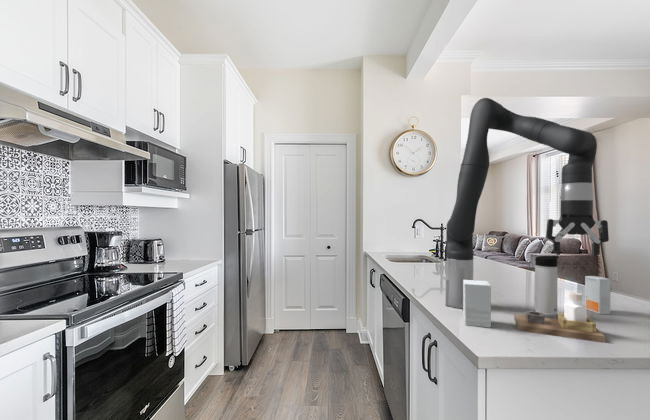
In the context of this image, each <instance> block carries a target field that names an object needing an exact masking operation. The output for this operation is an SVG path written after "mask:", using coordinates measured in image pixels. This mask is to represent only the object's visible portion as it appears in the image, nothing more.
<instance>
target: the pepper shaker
mask: <svg viewBox="0 0 650 420" xmlns="http://www.w3.org/2000/svg"><path fill="white" fill-rule="evenodd" d="M563 307H564V308H563V309H564V310H563V312H564V313H563V314H564V318H565V319H566V320H573V321H581V322H587V317H588V315H587V313H588V312H587V311H588V310H587V308H586V307H585V304H583V294H582V293H580V292H576V291H575V292H573V291H569V292H568V302H567V303H564V306H563Z"/></svg>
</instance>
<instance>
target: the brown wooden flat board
mask: <svg viewBox="0 0 650 420" xmlns="http://www.w3.org/2000/svg"><path fill="white" fill-rule="evenodd" d="M525 312H526V313H525V314H526V315H525V314H517V313H514V315H513V316H514V322H515V327H516V330H517V331H519V332H520V331H521V332H525V333H526V332H527V333H535V334H541V335H547V336H548V335H549V336H556V337H562V338H570V339H576V340H577V339H578V340H585V341H593V342H598V343H605V342H606V336H605V335H604V334H603V333H602V332H601V331H600V330H599V329H598V328H597V323H596V322H595V321H594V320H593V319H591V317H589V316H587V322H581V321H573V320H566V319H565V318H564V313H560V312H557V318H545V316H544V314H543V313H541V312H535V311H532V310H525Z"/></svg>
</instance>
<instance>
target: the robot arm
mask: <svg viewBox="0 0 650 420" xmlns="http://www.w3.org/2000/svg"><path fill="white" fill-rule="evenodd" d="M489 130H494V131H495V130H496V131H503V132H508V133H511V134H514V135H517V136H520V137H522V138H524V139H526V140H529V141H531V142H535V143H537V144H540V145H544V146H548V147H550V148H552V149H554V150H557V151H559V152H561V153H565V154H567V155H568V160H567V163H566V164H564V165H563V166H562V169H561V186H560V187H561V188H560V195H559V199H560V202H559V205H560V208H559V209H560V213H559V219H553V218H548V219H547V220H546V221H547V222H546V232H545V233H546V234H545V238H546V239H548V240H550V241H552V243H553V246H552V247H553V248H552V250H553V253H555V256H560V255H561V242H560V241H561V240H562V239H563V238H564V237H565V236H566V235H580V236H584V235H585V236H586V237H588V238H589V239H590V240H591V242H592V243H591V257H592V258H598V256H599V255H600V254H601V247H600V246H601V244H603V243H605V242H607V243H608V242H609V240H610V239H609V237H610V235H609V226H608V225H609V224H608V221H607V220H605V219H601V220H595V219H594V189H593V166H594V163H595V159H596V155H597V147H598V145H597V144H598V142H597V139H596V136H595V135H594V134H593V133H592V132H590V131H586V130H583V129H579V128H574V127H570V126H566V125H562V124H559V123H557V122H554V121H551V120H548V119H544V118H540V117H535V116H526V115H522V114H517V113H516V112H513V111H511V110H509V109H507V108H506V107H504V106H503V105H502V104H501V103H499V102H498V101H495V100H494V99H492V98H489V97H483V98H481V99H479V100H478V101H476V103H475V104H474V105H473V107H472V108H471V113H470V117H469V125H468V133H467V139H466V144H465V149H464V153H463V158H462V161H461V165H460V167H459V168H460V170H459V173H458V179H457V185H456V198H455V204H454V206H453V210H452V211H451V212H452V213H451V216H450V218H449V220H448V221H447V222H446V223H447V224H446V227H445V228H446V231H445V232H446V234H445V237H446V240H445V242H446V243H445V245H446V246H445V247H446V248H445V249H446V250H445V251H446V271H445V272H446V278H445V306H447V307H448V306H449V307H451V308H456V309H463V280H474V247H473V246H474V244H473V243H474V237H473V236H474V235H473V234H474V233H475V232H474V231H475V225H476V217H477V210H478V209H477V208H478V204H479V201H480V198H481V196H482V193H483V190H484V188H485V183H486V181H487V177H488V172H489V168H490V154H489V153H490V152H489V147H488V134H489ZM557 224H558V225H559V226H560V227H561V229H560V230H559V231H558V233H557V234H556V235H555V236H553V231H554V228H555V227H556V226H557ZM595 225H596V227H597V228H598V229H599V237H597V234H595V233H594V231H593V230H592V228H593V227H594V226H595Z"/></svg>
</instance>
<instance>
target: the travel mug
mask: <svg viewBox="0 0 650 420" xmlns="http://www.w3.org/2000/svg"><path fill="white" fill-rule="evenodd" d="M558 259H559V255H553V256H552V255H547V256H546V255H545V256H544V255H543V256H536V257H535V265H534V266H535V268H534V312H541V313H543V314H544V316H545V318H552V319H558V268H559V267H558Z"/></svg>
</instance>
